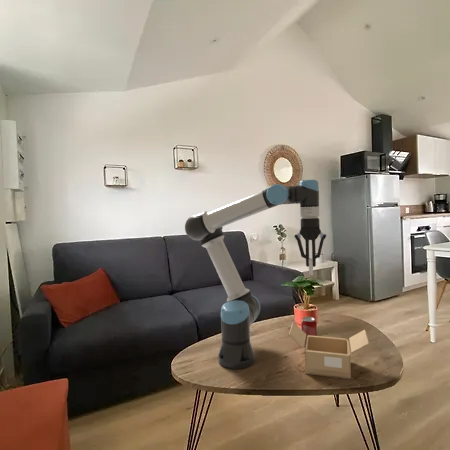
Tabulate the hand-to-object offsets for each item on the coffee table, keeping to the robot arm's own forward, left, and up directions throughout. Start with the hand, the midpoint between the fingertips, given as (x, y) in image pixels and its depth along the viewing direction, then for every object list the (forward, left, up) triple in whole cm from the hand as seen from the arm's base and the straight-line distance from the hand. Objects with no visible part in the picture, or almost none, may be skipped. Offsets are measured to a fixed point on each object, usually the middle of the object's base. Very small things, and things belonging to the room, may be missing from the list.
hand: (311, 274), depth 132 cm
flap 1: (-5, -9, -22) cm, 25 cm away
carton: (+6, -9, -35) cm, 36 cm away
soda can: (-2, +10, -35) cm, 36 cm away
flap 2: (+17, -9, -23) cm, 30 cm away
